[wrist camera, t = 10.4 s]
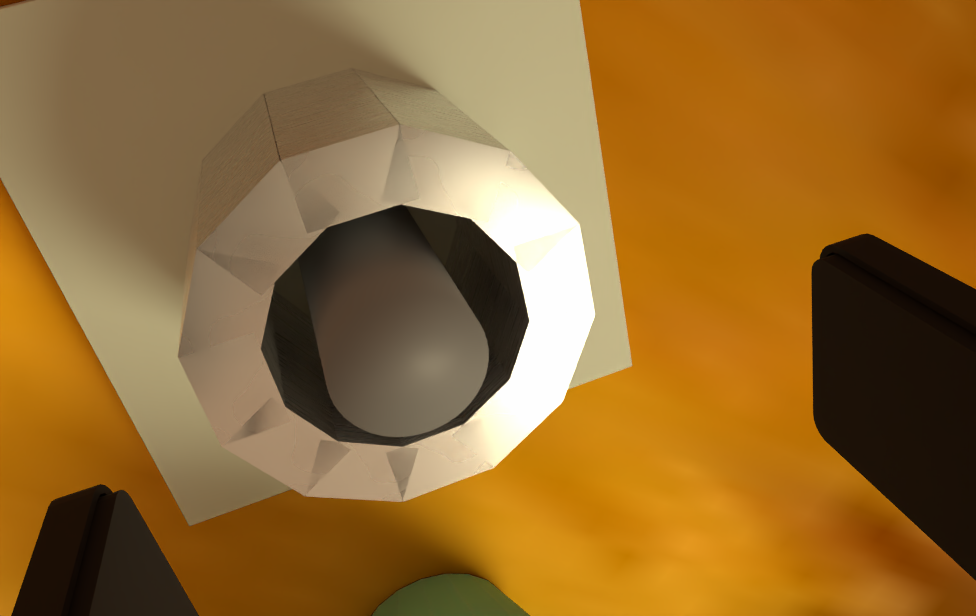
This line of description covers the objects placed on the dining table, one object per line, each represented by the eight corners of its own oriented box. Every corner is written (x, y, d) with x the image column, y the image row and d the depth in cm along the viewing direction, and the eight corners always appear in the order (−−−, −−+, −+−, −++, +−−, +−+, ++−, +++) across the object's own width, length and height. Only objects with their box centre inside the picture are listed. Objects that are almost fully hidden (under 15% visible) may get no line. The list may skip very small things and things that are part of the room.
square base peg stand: (543, -130, 17) (726, -152, 11) (616, 348, 22) (761, 508, 16) (-63, 22, 15) (-258, 99, 9) (190, 500, 21) (179, 744, 15)
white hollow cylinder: (467, 34, 17) (554, 78, 12) (528, 312, 20) (613, 422, 16) (137, 128, 15) (106, 212, 11) (260, 405, 19) (272, 550, 15)
